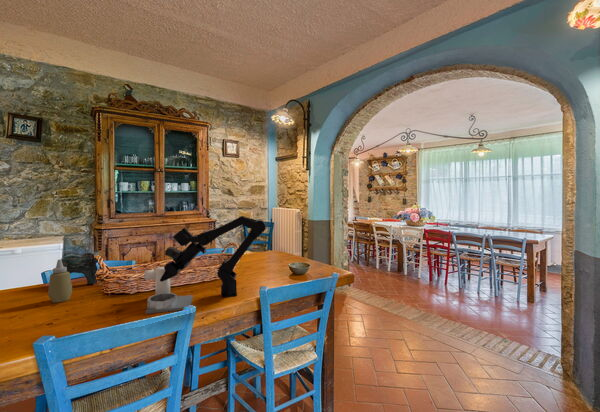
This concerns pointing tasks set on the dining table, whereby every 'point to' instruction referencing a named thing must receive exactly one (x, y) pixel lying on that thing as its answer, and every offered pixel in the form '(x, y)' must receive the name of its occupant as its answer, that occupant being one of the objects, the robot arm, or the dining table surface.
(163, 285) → the duct elbow
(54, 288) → the squeeze bottle
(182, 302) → the duct board
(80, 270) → the spray gun
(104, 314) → the dining table surface
